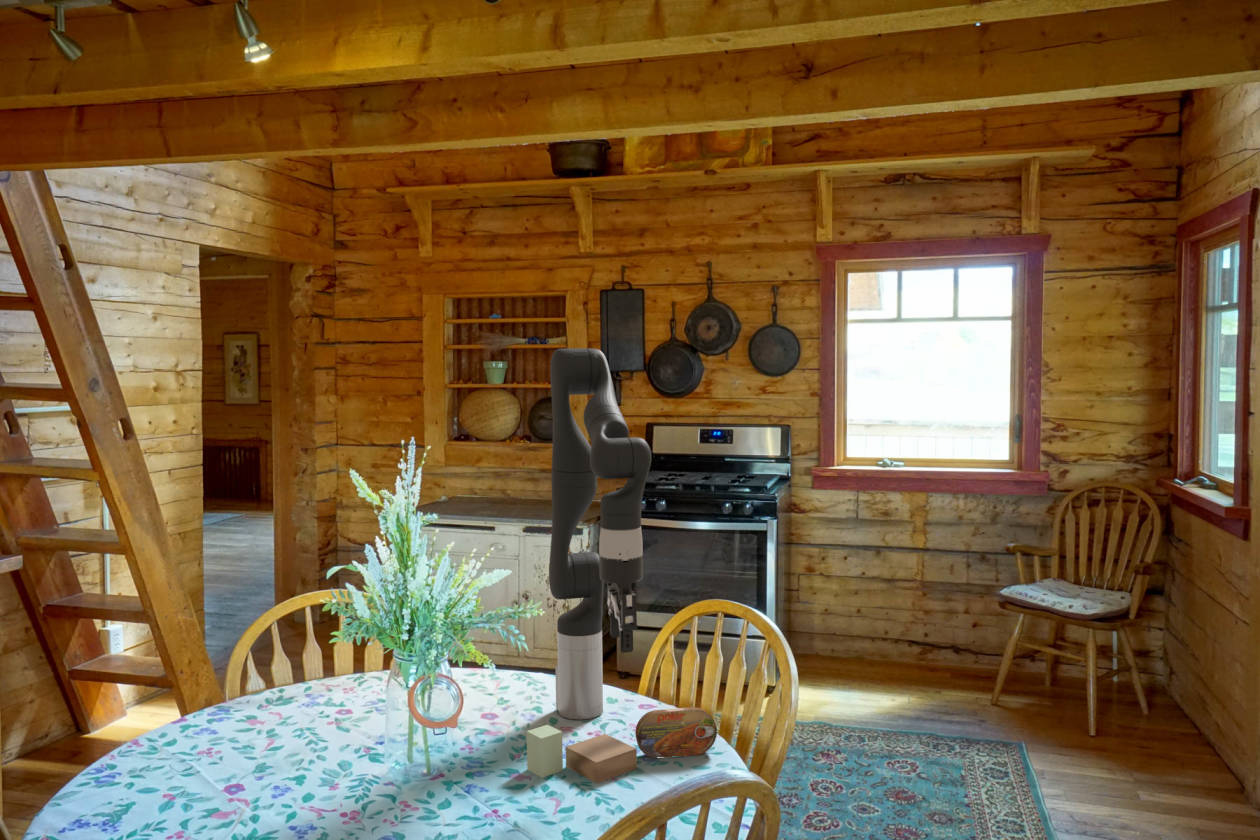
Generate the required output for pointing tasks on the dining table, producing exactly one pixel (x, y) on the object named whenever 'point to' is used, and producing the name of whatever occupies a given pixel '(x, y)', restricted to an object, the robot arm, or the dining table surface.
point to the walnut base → (601, 758)
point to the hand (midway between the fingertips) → (621, 644)
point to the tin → (675, 732)
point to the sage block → (544, 751)
